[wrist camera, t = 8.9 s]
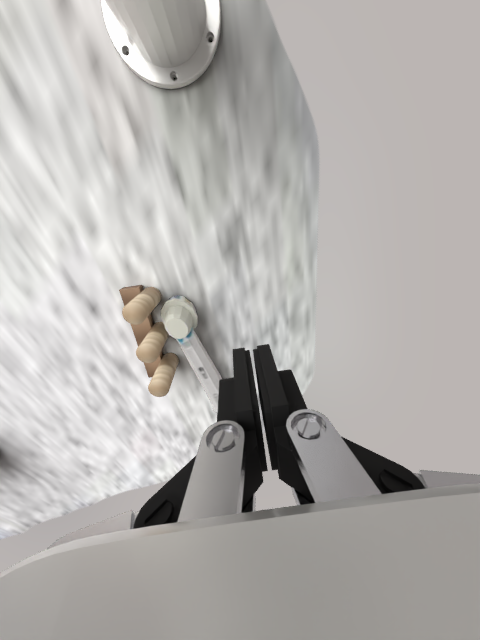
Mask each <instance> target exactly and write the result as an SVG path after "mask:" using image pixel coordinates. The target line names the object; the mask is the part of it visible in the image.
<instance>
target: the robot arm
mask: <svg viewBox="0 0 480 640" xmlns="http://www.w3.org/2000/svg"><path fill="white" fill-rule="evenodd" d="M101 7H102V13H103V18H104V22H105V25H106V28H107V31H108V34H109V36H110V38H111V40H112V42H113V45H114V47H115V49H116V50H117V52H118V53H119V55H120V56H121V58H122V59H123V61H124V62H125V63H126V64H127V66H128V67H129V68H130V69H131V70H132V71H133V72H134V73H135V74H136V75H137V76H138V77H139V78H141V79H143V80H144V81H146V82H147V83H149V84H151V85H154V86H156V87H159V88H166V89H175V88H181V87H184V86H187V85H189V84H191V83H192V82H194V81H195V80H197V79H198V78H199V77H200V76H201V75H202V74H203V73H204V72H205V71H206V69H207V68H208V66H209V64H210V63H211V61H212V59H213V57H214V54H215V52H216V49H217V45H218V41H219V37H220V26H221V8H220V0H101ZM209 40H212V41H213V42H211V43H210V42H209ZM127 53H129V55H128V56H126V55H127ZM174 78H177V80H176V81H173V79H174ZM253 353H254V361H255V368H256V375H257V383H258V390H259V398H260V404H261V410H262V415H263V421H264V427H265V432H266V438H267V444H268V449H269V454H270V461H271V466H272V470H277V469H278V474H279V479H281V480H282V481H284V482H285V483H286V484H288V485H289V486H291V488H292V492H293V495H294V498H295V501H296V504H297V506H290V507H283V508H275V509H269V510H261V511H255V503H256V502H255V501H256V498H255V492H256V491H257V489H258V488H259V487H260V485H261V484H262V483H263V476H262V472H263V471H267V463H266V456H265V449H264V442H263V434H262V427H261V420H260V413H259V406H258V400H257V394H256V388H255V381H254V375H253V369H252V363H251V357H250V351H249V350H247V351H245V348H239V349H233V366H234V378H228V379H221V380H219V395H218V414H217V423H214V424H213V425H211V426H210V427H208V428H207V430H206V431H205V432H204V434H203V436H202V439H201V442H200V445H199V449H198V452H197V455H196V456H195V457H194V458H193V459H192V460H191V461H190V462H189V463H188V464H187V465H186V466H185V467H183V468H182V469H181V470H180V471H179V472H178V473H177V474H176V475H175V476H174V477H173V478H172V479H171V480H170V481H168V482H167V483H166V484H165V485H164V486H163V487H162V488H161V489H160V490H159V491H158V492H157V493H156V494H155V495H153V496H152V497H151V498H150V499H149V500H148V501H147V502H146V503H145V505H144V506H143V507H142V508H141V510H140V511H138V512H135V513H133V511H132V510H130V511H127V512H124V513H122V514H119V515H117V516H114V517H111V518H109V519H106V520H103V521H101V522H98V523H96V524H93V525H90V526H88V527H85V528H82V529H80V530H77V531H74V532H72V533H69V534H67V535H65V536H63V537H61V538H60V539H58V540H56V541H55V542H54V543H53V544H52V545H51V546H50V547H48V548H47V550H44V551H42V552H39V553H37V554H35V555H32V556H30V557H28V558H26V559H24V560H22V561H20V562H19V563H17V564H15V565H13V566H11V567H9V568H7V569H5V570H4V571H2V572H1V573H0V640H480V475H475V474H474V475H473V474H463V473H450V472H437V471H426V470H420V471H419V474H416V473H412V472H411V471H410V470H408V469H406V468H405V467H403V466H401V465H399V464H397V463H395V462H393V461H391V460H388V459H387V458H384V457H383V456H380V455H378V454H376V453H374V452H372V451H370V450H368V449H366V448H364V447H362V446H359V445H357V444H356V443H353V442H351V441H349V440H347V439H345V438H343V437H341V436H340V435H339V433H338V432H337V431H336V429H335V428H334V426H333V425H332V424H331V422H330V421H329V419H328V418H327V417H326V416H325V415H323V414H322V413H320V412H318V411H315V410H310V409H307V407H306V404H305V402H304V399H303V397H302V395H301V392H300V390H299V387H298V385H297V383H296V380H295V378H294V375H293V373H292V371H291V370H283V371H277V368H276V365H275V362H274V359H273V355H272V352H271V349H270V346H269V344H267V345H260V346H257V349H254V350H253Z"/></svg>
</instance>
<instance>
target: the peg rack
mask: <svg viewBox="0 0 480 640" xmlns="http://www.w3.org/2000/svg"><path fill="white" fill-rule="evenodd" d="M119 291H120V294H121V297H122V300H123V303H124V308H123V311H122V314H123V317H124V319H125V320H126V321H127V322H129V323H130V324H131V326H132V329H133V332H134V335H135V338H136V341H137V344H138V348H137V350H136V355H137V357H138V359H139V360H141V361H142V362H144V365H145V368H146V371H147V374H148V377H152V380H151V382H150V384H149V386H148V389H149V392H150V393H151V394H152V395H154V396H157V397H162V396H165V395H166V394H167V393H168V392H169V389H170V386H171V383H172V380H173V377H174V374H175V371H176V368H177V365H178V362H179V359H178V357H177V355H175V354H174V353H166V354H164V355H163V353H162V348H163V346H164V344H165V342H166V340H167V338H168V336H169V334H168V332H167V331H166V329H165V325H164V324H163V322H157V323H155V324H154V323H153V320H152V317H151V312H152V311H153V310H154V308H155V307H156V306H157V305H158V303H159V302H160V301H161V293H160V291H159V290H158V289H156V288H154V287H147V288H145V289H144V290H143V286H142V285H137V286H131V287H124V288H122V289H120V290H119Z"/></svg>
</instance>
